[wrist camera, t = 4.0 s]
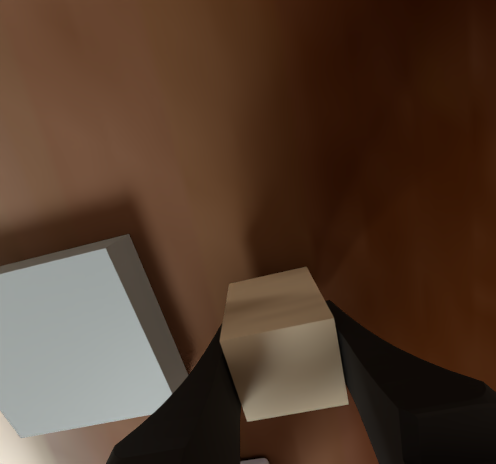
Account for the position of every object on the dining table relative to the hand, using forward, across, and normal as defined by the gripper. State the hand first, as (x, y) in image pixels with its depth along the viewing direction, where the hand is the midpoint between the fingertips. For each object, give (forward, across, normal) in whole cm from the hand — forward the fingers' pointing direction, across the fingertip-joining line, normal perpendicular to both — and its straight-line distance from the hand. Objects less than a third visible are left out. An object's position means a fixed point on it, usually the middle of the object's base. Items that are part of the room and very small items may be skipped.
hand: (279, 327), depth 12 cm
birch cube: (+2, 0, 0) cm, 2 cm away
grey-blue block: (+4, +14, 0) cm, 15 cm away
